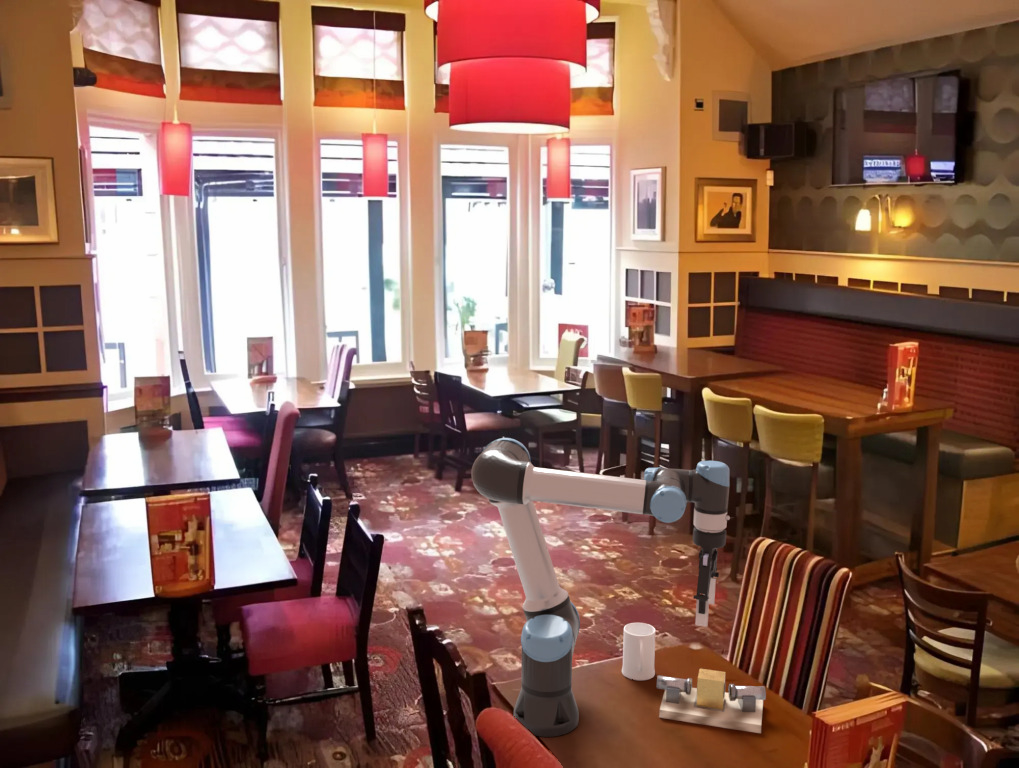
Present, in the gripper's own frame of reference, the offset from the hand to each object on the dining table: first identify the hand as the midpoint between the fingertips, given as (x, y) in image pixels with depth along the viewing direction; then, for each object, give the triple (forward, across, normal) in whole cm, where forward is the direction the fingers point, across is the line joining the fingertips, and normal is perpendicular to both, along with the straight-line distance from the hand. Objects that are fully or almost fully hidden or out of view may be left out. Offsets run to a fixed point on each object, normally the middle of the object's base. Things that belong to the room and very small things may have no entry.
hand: (705, 614), depth 218 cm
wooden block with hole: (+21, -2, -3) cm, 21 cm away
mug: (+24, +10, +17) cm, 31 cm away
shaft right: (+21, -1, -11) cm, 24 cm away
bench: (+23, -2, -3) cm, 23 cm away
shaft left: (+21, -2, +6) cm, 22 cm away
